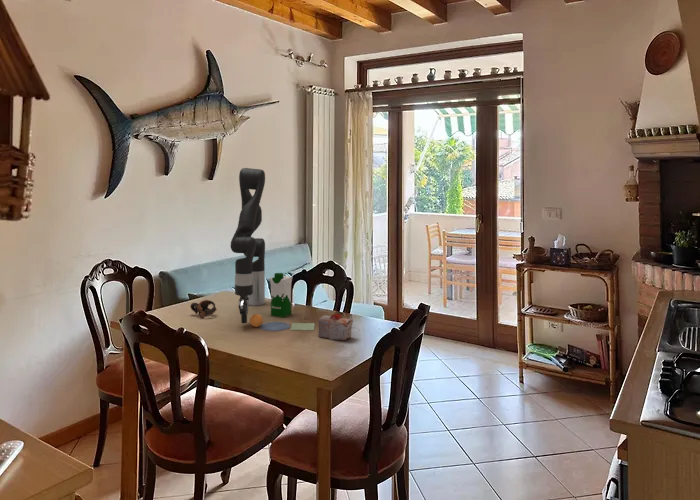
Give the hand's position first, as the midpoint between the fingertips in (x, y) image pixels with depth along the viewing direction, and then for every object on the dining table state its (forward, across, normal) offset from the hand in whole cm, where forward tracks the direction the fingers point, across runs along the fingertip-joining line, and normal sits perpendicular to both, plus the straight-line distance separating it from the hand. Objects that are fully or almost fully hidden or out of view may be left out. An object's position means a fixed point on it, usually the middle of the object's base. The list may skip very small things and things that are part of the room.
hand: (244, 322), depth 220 cm
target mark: (+2, 0, -13) cm, 13 cm away
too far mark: (+2, 0, -25) cm, 25 cm away
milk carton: (+2, +19, -14) cm, 24 cm away
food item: (+2, -15, -39) cm, 42 cm away
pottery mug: (+2, +16, +21) cm, 27 cm away
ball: (-1, 0, -5) cm, 5 cm away
